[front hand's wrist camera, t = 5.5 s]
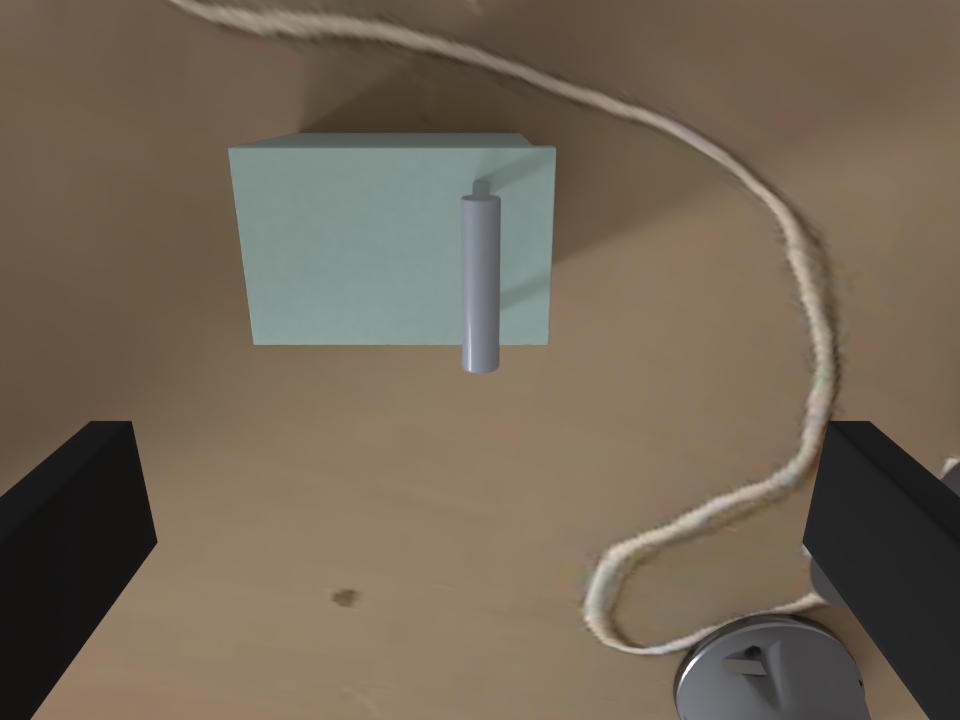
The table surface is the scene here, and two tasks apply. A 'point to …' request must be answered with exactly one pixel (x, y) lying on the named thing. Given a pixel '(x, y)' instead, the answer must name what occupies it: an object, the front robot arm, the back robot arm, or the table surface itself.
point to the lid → (397, 245)
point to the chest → (396, 139)
